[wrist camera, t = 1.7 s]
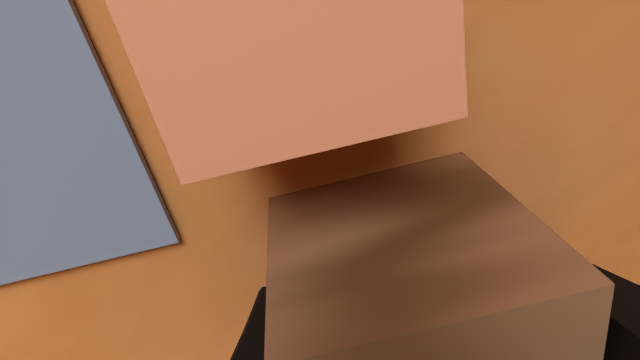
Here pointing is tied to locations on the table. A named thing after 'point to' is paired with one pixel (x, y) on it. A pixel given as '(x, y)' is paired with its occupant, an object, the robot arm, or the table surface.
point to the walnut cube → (426, 273)
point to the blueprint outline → (66, 151)
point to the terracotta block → (290, 74)
